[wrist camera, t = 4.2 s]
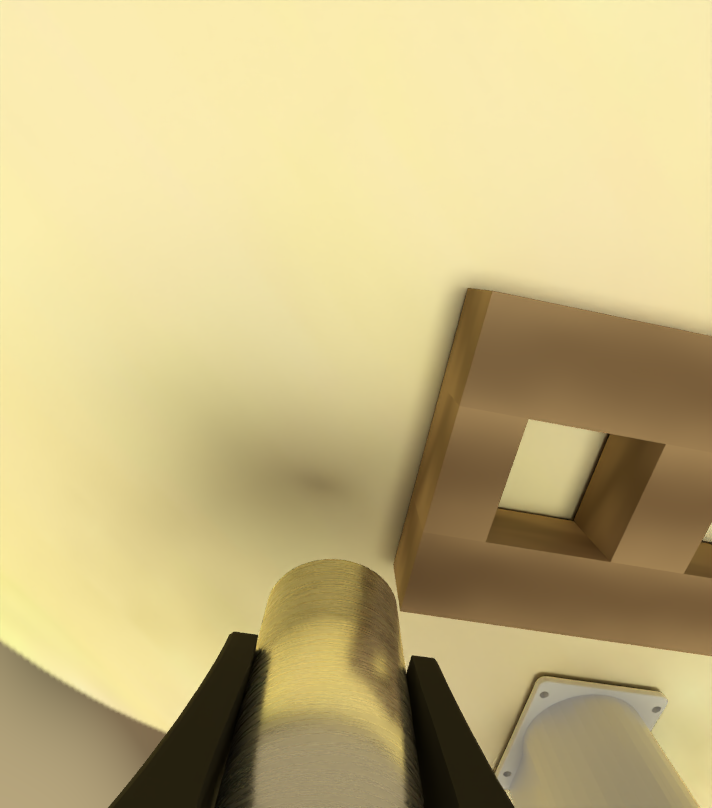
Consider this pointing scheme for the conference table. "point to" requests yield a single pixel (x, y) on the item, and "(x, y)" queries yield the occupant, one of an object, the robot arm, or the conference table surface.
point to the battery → (325, 699)
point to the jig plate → (607, 491)
